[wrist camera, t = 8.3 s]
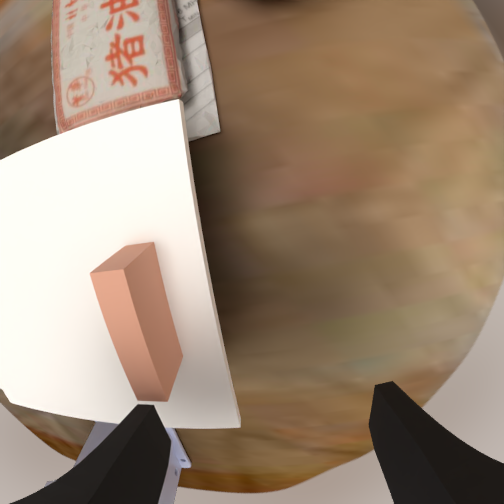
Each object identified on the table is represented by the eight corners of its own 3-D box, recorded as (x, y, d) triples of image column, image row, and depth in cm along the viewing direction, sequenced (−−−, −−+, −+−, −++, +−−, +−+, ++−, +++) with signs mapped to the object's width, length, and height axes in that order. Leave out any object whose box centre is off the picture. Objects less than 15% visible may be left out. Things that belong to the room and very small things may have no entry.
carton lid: (241, 419, 14) (237, 471, 11) (14, 397, 15) (-8, 426, 12) (183, 101, 10) (151, 81, 7) (-60, 196, 11) (-98, 209, 8)
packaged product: (33, -54, 7) (171, -115, 7) (64, -31, 12) (186, -78, 11) (30, 185, 13) (212, 127, 12) (76, 175, 17) (225, 135, 17)
